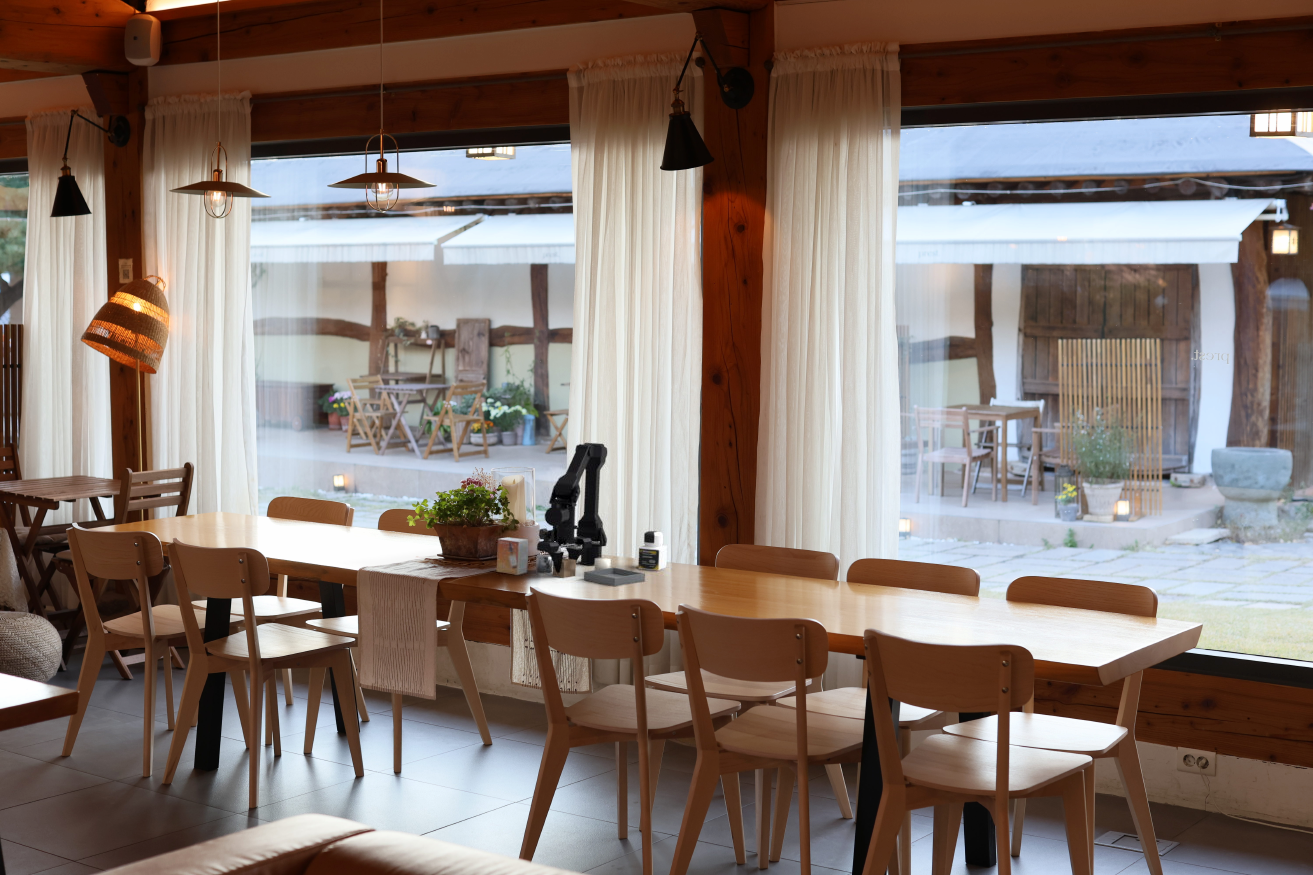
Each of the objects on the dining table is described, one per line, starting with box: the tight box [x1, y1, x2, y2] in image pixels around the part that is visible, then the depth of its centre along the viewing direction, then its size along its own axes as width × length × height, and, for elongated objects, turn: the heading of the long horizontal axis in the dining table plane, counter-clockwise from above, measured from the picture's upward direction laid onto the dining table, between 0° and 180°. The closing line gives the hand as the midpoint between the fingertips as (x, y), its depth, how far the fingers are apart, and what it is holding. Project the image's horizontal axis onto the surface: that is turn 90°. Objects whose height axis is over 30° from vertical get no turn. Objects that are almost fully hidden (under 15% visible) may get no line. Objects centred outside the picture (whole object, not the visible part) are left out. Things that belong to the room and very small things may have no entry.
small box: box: [496, 536, 529, 576], centre depth 402 cm, size 8×6×10 cm
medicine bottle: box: [637, 530, 668, 572], centre depth 418 cm, size 7×7×12 cm
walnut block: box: [552, 557, 577, 579], centre depth 400 cm, size 5×5×5 cm
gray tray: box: [583, 566, 646, 587], centre depth 395 cm, size 13×13×2 cm
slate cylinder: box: [535, 554, 553, 574], centre depth 406 cm, size 5×5×5 cm
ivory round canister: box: [593, 557, 612, 570], centre depth 404 cm, size 5×5×5 cm
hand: (564, 571), depth 400 cm, fingers closed on walnut block, 5 cm apart
